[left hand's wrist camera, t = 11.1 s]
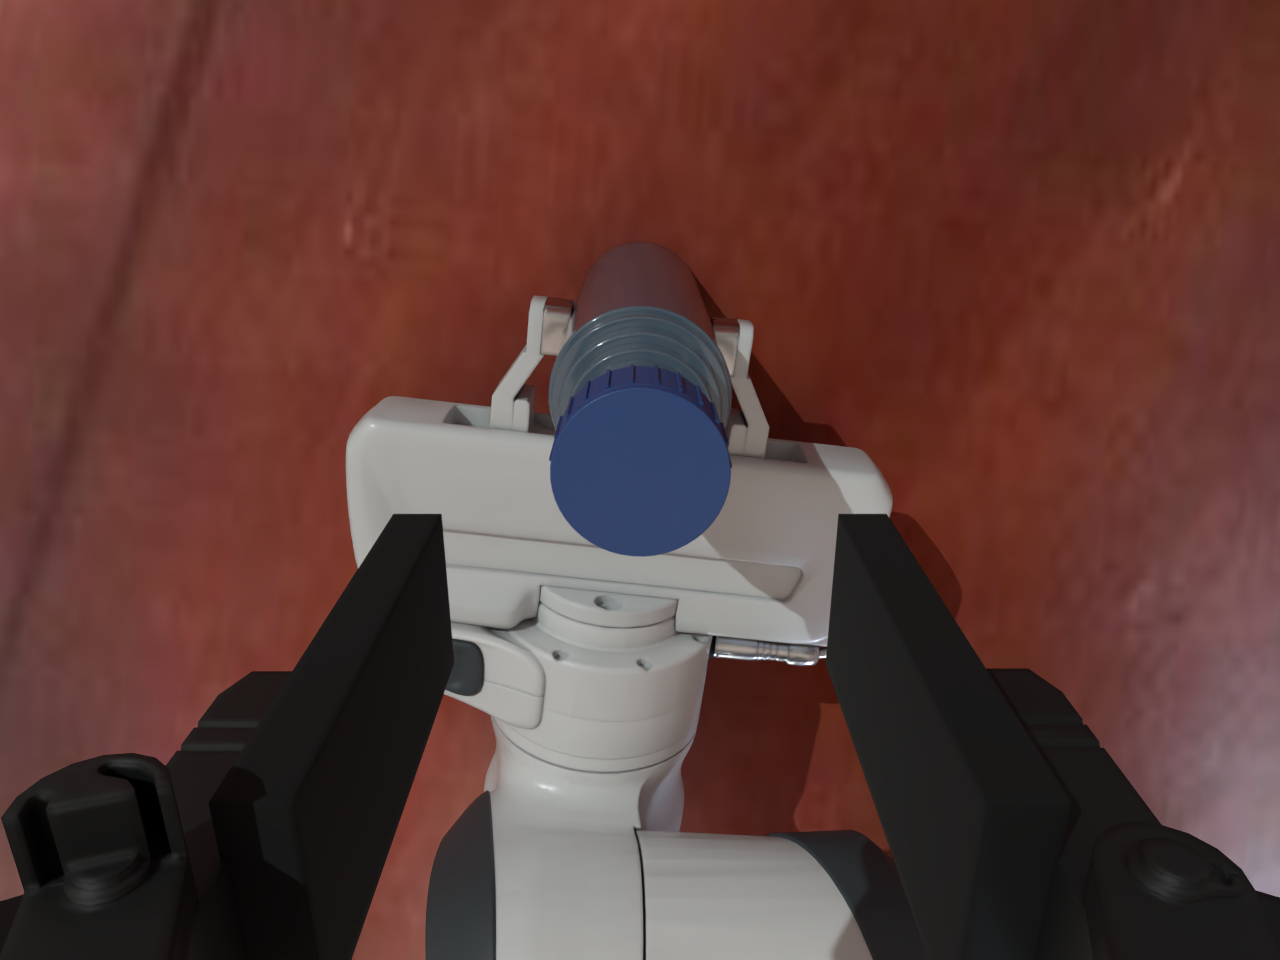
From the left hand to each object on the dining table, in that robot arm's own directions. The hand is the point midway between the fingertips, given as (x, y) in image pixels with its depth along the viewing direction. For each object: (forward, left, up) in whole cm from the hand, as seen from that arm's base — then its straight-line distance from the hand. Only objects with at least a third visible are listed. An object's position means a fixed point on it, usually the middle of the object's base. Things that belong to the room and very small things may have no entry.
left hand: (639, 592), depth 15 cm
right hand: (-1, 0, -20) cm, 20 cm away
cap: (0, 0, -6) cm, 6 cm away
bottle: (0, 0, -26) cm, 26 cm away
